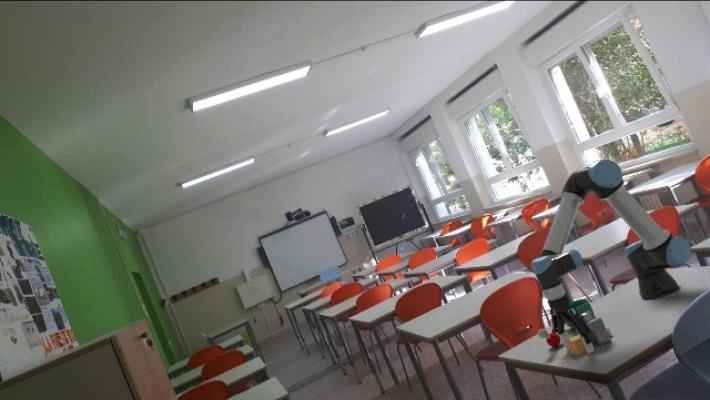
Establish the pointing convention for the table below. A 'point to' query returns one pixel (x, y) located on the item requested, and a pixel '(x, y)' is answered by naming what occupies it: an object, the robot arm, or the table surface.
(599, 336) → the housing
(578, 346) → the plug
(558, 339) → the molecular model
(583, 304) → the mug
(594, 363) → the table surface
